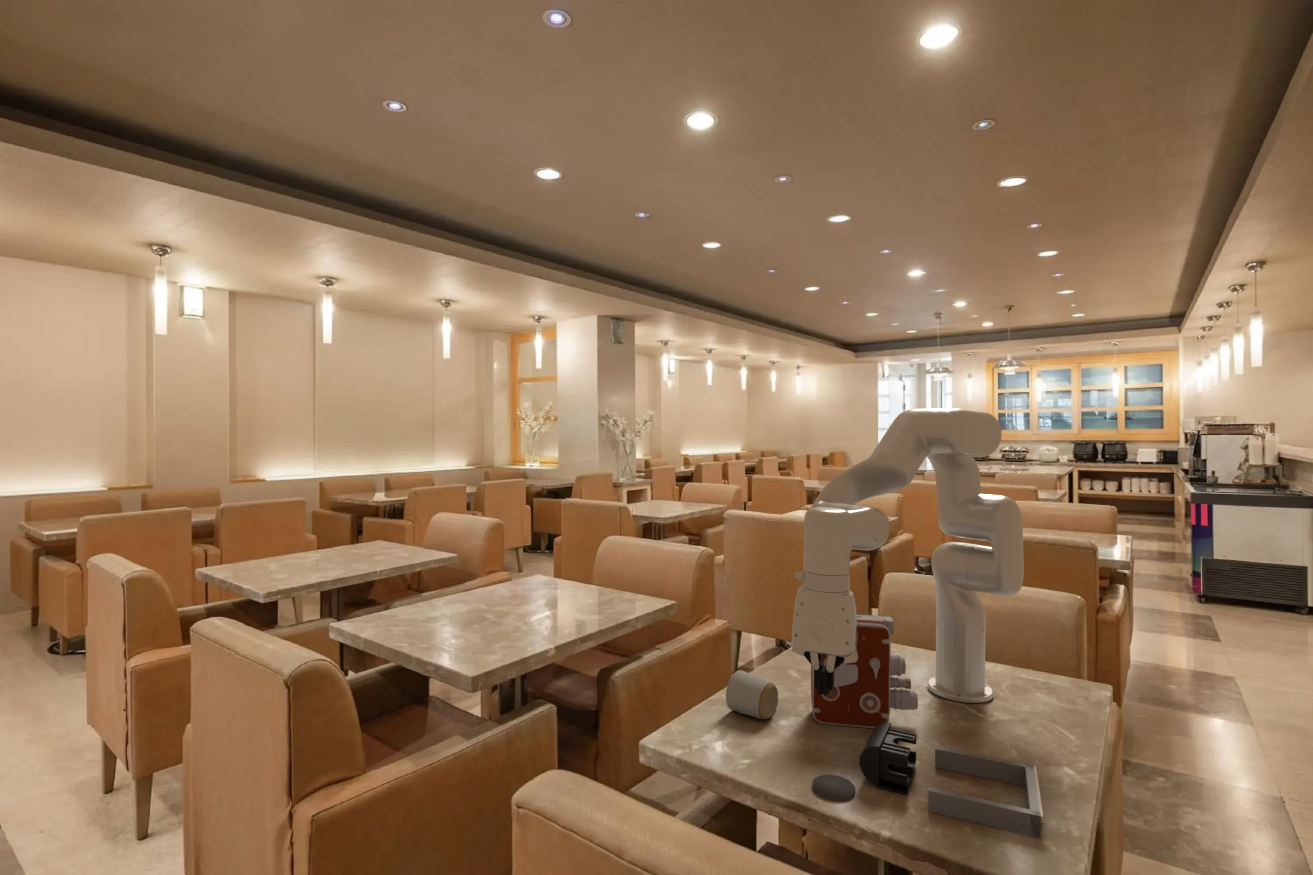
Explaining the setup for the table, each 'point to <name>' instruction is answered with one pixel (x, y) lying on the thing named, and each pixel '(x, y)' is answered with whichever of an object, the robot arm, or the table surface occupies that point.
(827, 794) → the lens cap
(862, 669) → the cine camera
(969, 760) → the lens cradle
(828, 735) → the table surface
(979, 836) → the table surface
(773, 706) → the ceramic mug
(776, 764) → the table surface
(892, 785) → the end cap
